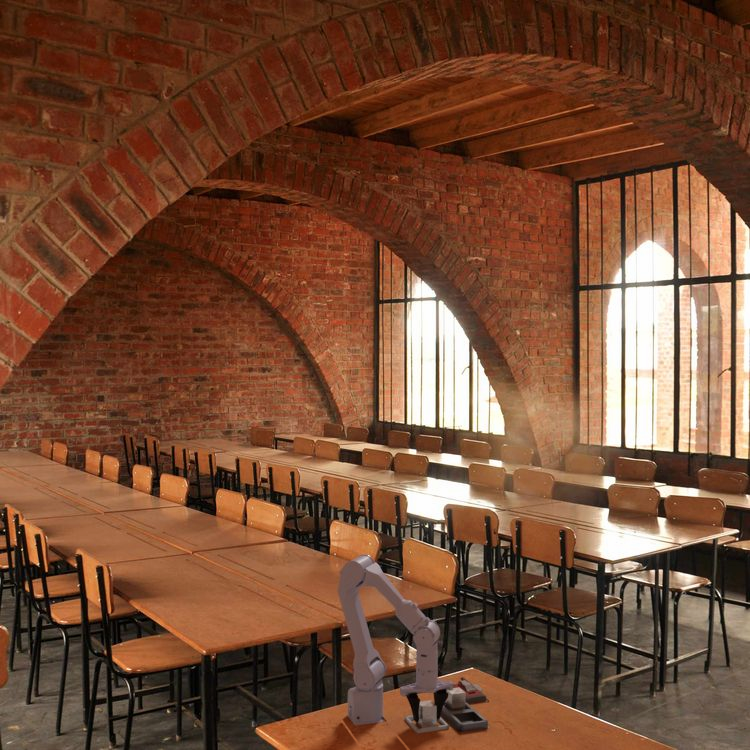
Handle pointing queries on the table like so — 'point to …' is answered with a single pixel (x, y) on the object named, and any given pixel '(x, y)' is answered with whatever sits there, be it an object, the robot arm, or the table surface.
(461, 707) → the seated billet
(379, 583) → the robot arm
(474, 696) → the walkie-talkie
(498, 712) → the table surface
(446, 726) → the grey square tray
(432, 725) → the loose billet
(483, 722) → the metal divided rack
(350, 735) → the table surface
